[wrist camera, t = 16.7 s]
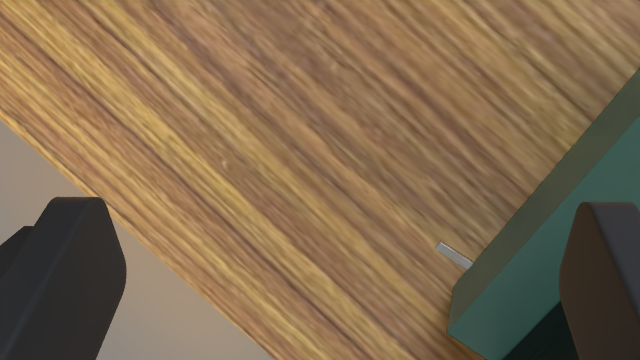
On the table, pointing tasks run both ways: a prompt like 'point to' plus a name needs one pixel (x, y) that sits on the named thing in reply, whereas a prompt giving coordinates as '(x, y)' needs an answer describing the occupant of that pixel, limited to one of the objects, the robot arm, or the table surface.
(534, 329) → the black flat block
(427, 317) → the table surface
